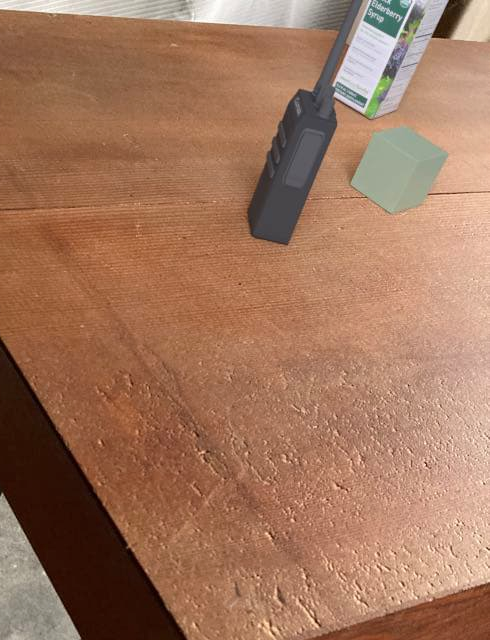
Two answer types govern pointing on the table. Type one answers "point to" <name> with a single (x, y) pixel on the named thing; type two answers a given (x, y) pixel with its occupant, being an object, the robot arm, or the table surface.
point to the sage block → (398, 169)
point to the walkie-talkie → (298, 150)
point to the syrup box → (385, 53)
